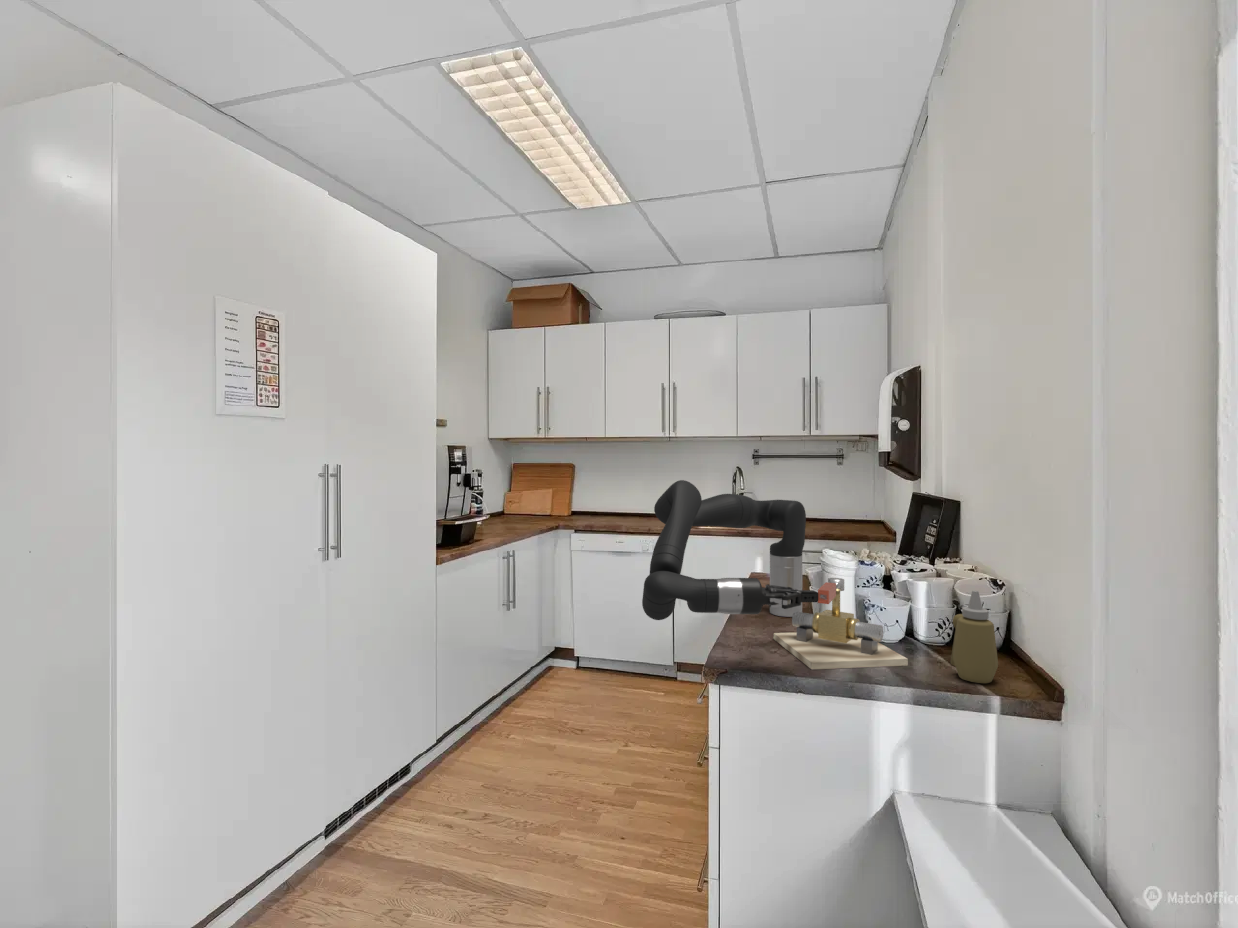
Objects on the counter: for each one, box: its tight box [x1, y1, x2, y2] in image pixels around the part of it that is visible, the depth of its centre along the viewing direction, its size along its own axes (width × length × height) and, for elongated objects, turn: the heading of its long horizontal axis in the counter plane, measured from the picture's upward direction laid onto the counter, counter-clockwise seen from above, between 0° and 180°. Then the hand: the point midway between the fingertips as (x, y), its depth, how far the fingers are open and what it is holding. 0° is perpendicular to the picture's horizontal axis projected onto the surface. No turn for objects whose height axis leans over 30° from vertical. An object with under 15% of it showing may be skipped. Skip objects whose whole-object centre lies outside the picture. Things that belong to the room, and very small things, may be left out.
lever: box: [817, 577, 845, 605], centre depth 134 cm, size 18×4×3 cm, turn 151°
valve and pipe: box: [791, 591, 884, 655], centre depth 140 cm, size 20×6×13 cm, turn 52°
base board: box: [773, 631, 909, 670], centre depth 140 cm, size 22×22×2 cm
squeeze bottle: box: [953, 590, 999, 684], centre depth 122 cm, size 8×8×18 cm
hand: (816, 596), depth 127 cm, fingers closed
